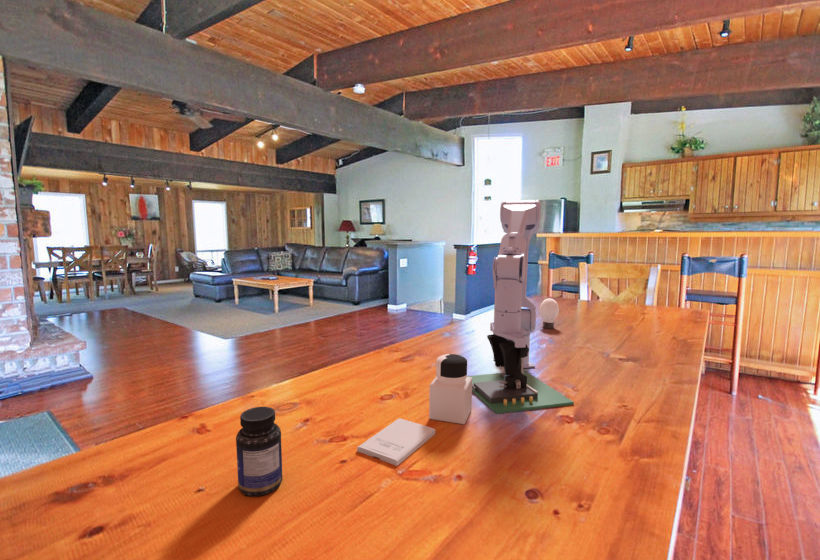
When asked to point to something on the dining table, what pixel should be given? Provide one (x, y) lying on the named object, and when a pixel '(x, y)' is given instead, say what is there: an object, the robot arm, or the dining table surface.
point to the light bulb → (549, 312)
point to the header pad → (503, 392)
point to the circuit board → (545, 397)
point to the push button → (516, 376)
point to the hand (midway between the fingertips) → (505, 370)
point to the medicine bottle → (450, 390)
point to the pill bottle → (259, 452)
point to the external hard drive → (397, 441)
